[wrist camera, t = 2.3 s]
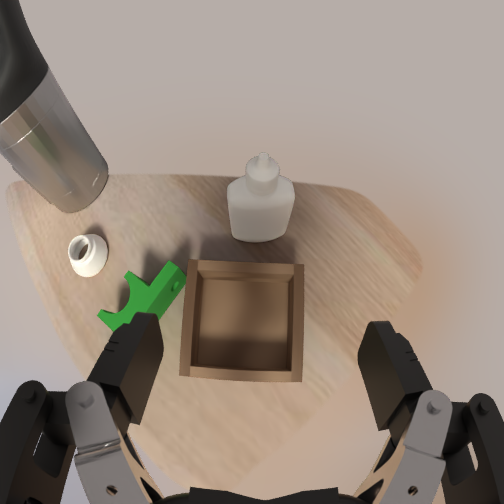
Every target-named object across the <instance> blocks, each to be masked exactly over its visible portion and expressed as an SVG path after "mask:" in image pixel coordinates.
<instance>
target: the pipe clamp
mask: <svg viewBox="0 0 504 504" xmlns="http://www.w3.org/2000/svg"><path fill="white" fill-rule="evenodd" d="M186 277H187V276H186V275H185V274H184V273H183V272H182V271H181V270H180V268H179V267H178V266H176V265H175V264H173V263H172V262H171V261H168V262H167V263H166V265H165V266H164V267H163V269H162V270H161V271H160V273H159V274H158V275H157V277H156V278H155V279H154V281H153V282H152V284H151V285H149V284H147V283H146V282H145V281H143V280H142V279H140V278H139V277H137V276H136V275H135V274H133V273H132V272H130V271H128V272H127V273H126V275H125V276H124V278H125V279H126V280H127V281H128V283H129V287H130V298H129V301H128V303H127V305H126V306H125V308H124V309H123V310H121V311H120V312H118V313H112V312H109V311H105V310H102V309H101V310H100V312H99V313H98V315H97V316H98V317H99V318H100V319H101V320H102V321H103V322H104V323H105V324H106V325H107V326H108V327H109V328H110V329H111V330H112V331H113V332H114V331H115V330H116V329H117V328H118V327H120V326H121V325H122V324H123V323H127V324H129V323H130V322H131V320H132V318H133V316H134V314H135V313H136V312H146V313H155V314H156V315H157V317H158V321H159V319H160V318H161V317H162V315H163V314H164V313H165V311H166V310H167V308H168V307H169V306H170V304H171V303H172V301H173V300H174V299H175V297H176V296H177V295H178V293H179V292H180V291H181V289H182V288H183V286H184V285H185V284H186Z"/></svg>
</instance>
